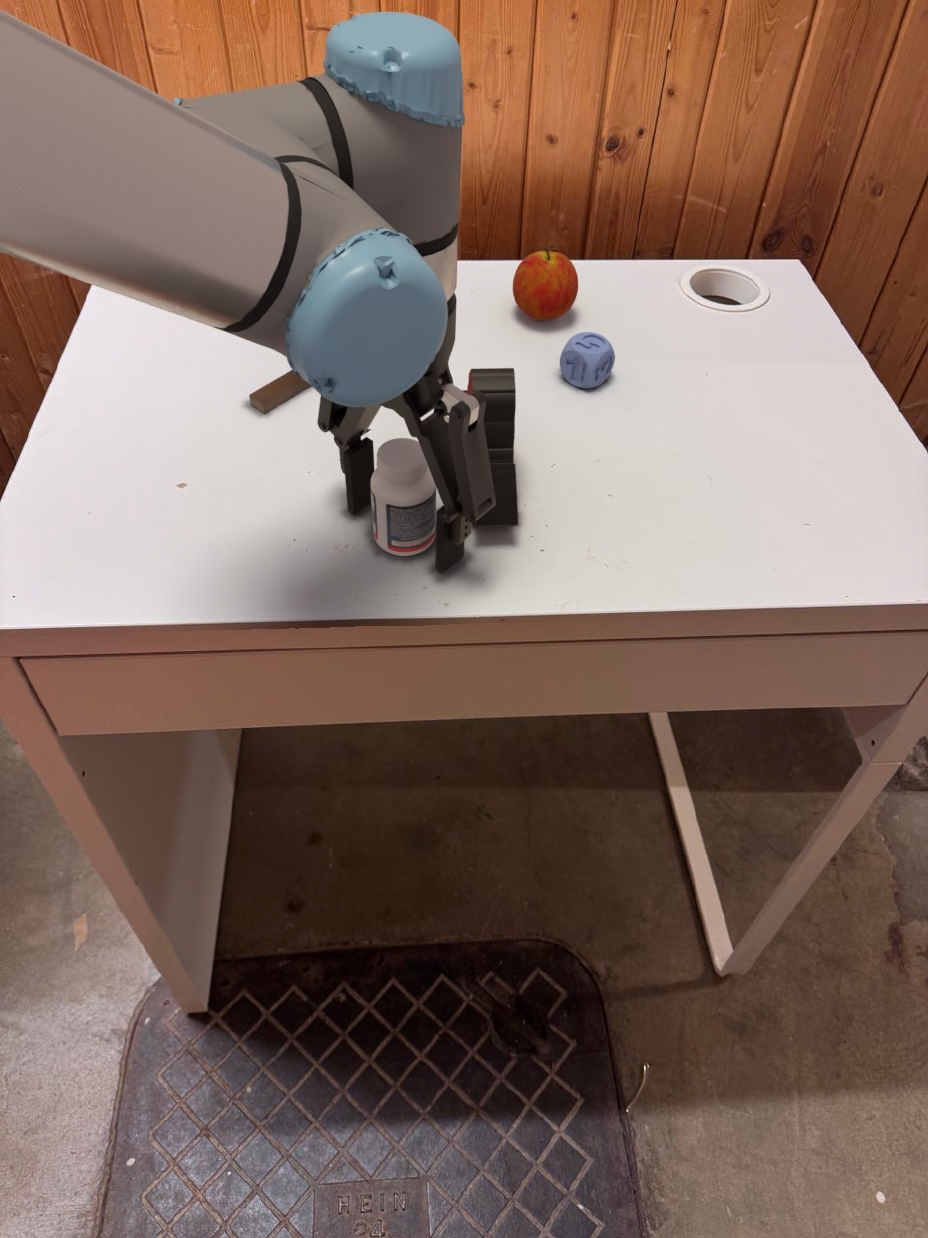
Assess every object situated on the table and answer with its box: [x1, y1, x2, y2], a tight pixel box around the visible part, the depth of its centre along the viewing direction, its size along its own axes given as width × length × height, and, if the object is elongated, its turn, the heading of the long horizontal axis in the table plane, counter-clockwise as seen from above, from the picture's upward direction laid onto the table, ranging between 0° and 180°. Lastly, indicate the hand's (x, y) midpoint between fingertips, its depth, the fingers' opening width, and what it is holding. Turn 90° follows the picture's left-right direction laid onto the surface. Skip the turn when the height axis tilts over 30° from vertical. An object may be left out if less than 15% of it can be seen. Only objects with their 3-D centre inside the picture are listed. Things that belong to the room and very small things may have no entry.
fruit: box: [512, 245, 579, 322], centre depth 98 cm, size 7×7×8 cm
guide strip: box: [248, 369, 312, 414], centre depth 94 cm, size 24×2×1 cm, turn 140°
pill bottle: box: [370, 437, 437, 557], centre depth 75 cm, size 5×5×9 cm
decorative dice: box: [559, 331, 616, 389], centre depth 92 cm, size 4×4×4 cm
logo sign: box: [461, 367, 519, 528], centre depth 80 cm, size 18×4×11 cm, turn 4°
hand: (404, 532), depth 78 cm, fingers open, 9 cm apart
